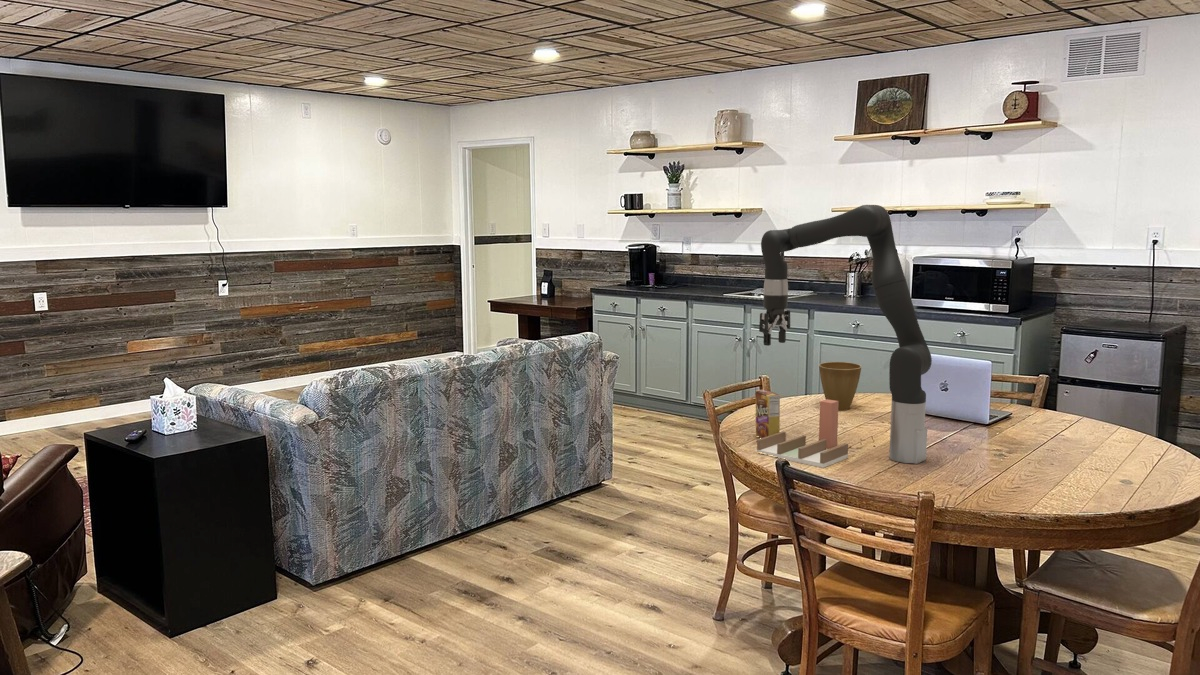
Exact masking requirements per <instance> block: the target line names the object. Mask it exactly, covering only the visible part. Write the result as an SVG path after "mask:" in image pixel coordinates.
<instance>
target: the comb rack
mask: <svg viewBox="0 0 1200 675" xmlns="http://www.w3.org/2000/svg"><path fill="white" fill-rule="evenodd" d="M786 432H787V431H784V430H783V431H779V433H776V434H773V435H770V436H767V437H764V438H761V439H760V438H758V439H756V453H757V452H762V453H766V454H770V455H773V456H777V457H778V458H777V459H780V458H785V459H787V460H786V461H789V460H790V462H794V463H799V464H802V465H803V464H804V465H809V466H813V467H818V468H821V469H824V468H827V467H828V466H831V465H833V464H837V463H838V462H841V461H843V460H846V459H848V458H849V443H842V444H840V445H837V446H836V447H833V448H828V449H827V448H826V446H827V440H826V439H823V440H820V441H819V440H817V441H814V442H812V443H809V444H807V443H806V442H807V437H806V436H807V435H804V434H802V435H799V436H796V437H793V438H791V439H788V440H786V435H787V434H786Z"/></svg>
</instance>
